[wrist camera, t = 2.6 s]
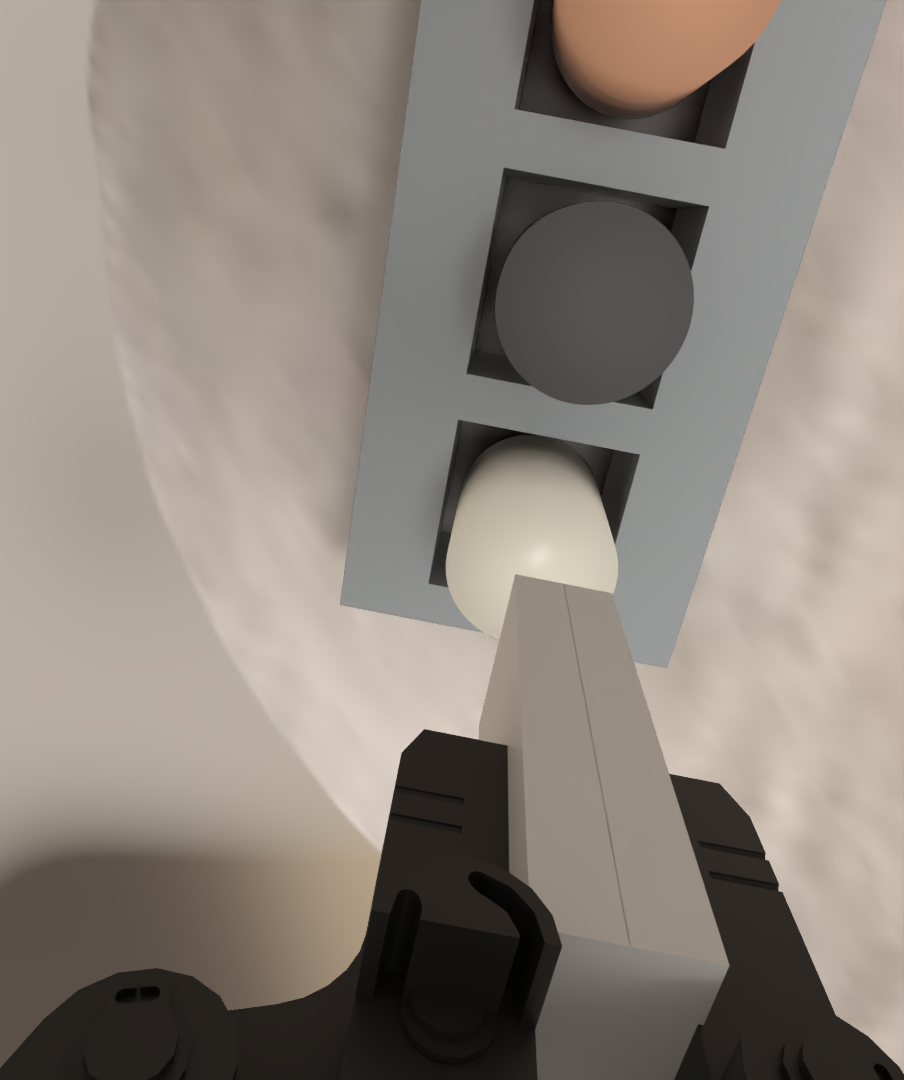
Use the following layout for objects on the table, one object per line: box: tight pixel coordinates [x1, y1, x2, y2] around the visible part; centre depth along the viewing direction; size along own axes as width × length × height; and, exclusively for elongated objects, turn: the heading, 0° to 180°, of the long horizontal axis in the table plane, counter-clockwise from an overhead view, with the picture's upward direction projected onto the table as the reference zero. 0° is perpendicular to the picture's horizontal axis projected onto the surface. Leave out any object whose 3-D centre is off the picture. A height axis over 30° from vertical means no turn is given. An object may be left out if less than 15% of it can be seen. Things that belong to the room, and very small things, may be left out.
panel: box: [340, 0, 886, 668], centre depth 26 cm, size 24×12×5 cm, turn 170°
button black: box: [495, 201, 694, 405], centre depth 23 cm, size 5×5×6 cm
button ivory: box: [446, 435, 618, 640], centre depth 26 cm, size 5×5×6 cm
